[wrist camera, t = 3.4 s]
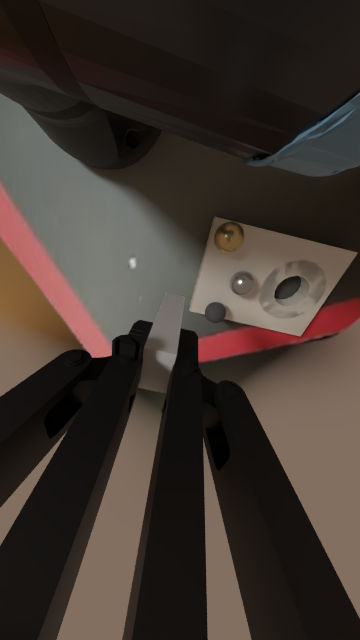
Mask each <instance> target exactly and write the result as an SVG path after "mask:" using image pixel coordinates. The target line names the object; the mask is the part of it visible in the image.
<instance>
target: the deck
mask: <svg viewBox="0 0 360 640" xmlns="http://www.w3.org/2000/svg"><path fill="white" fill-rule="evenodd" d="M226 222H235V221H231V220H227V219H223V218H219V217H215V216H214V218H213V222H212V226H211V229H210V233H209V237H208V240H207V244H206V248H205V251H204V255H203V259H202V262H201V266H200V270H199V273H198V277H197V281H196V284H195V288H194V292H193V295H192V299H191V303H190V311H191V312H196V313H200V314H205V309H206V307H207V306H208V305H209V304H210V303H212V302H219V303H221V304H222V305H223V306H224V307H225V309H226V316H225V318H224V319H226V320H231V321H235V322H239V323H244V324H248V325H252V326H257V327H261V328H265V329H270V330H274V331H278V332H283V333H287V334H292V335H296V336H301V335H302V334H303V332H304V331H305V329H306V328H307V326H308V325H309V323H310V322H311V320H312V319H313V318H314V316H315V315H316V313H317V312H318V310H319V309H320V307H321V306H322V304H323V303H324V302H325V300H326V299H327V297H328V296H329V294H330V293H331V291H332V290H333V288H334V287H335V286H336V284H337V283H338V281H339V280H340V278H341V277H342V275H343V274H344V272H345V271H346V269H347V268H348V267H349V265H350V264H351V262H352V261H353V259H354V258H355V256H356V255H357V252H353V251H349V250H345V249H342V248H338V247H334V246H330V245H326V244H322V243H318V242H314V241H310V240H306V239H302V238H298V237H294V236H290V235H286V234H282V233H278V232H274V231H270V230H266V229H262V228H258V227H254V226H250V225H246V224H243V223H239V222H236V223H238V224H239V225H240V226H241V227H242V228H243V230H244V235H245V238H244V242H243V244H242V246H241V247H240V248H239V249H238V250H237V251H236V252H234V253H230V254H226V253H222V252H220V251H219V250H218V249H217V248H216V246H215V243H214V236H215V232H216V230H217V229H218V228H219V226H221V225H222V224H223V223H226ZM239 271H247V272H250V273H251V274H252V275H253V276H254V278H255V287H254V289H253V291H252V292H251V293H249V294H247V295H245V296H239V295H236V294H234V293H233V292H232V291H231V289H230V285H229V283H230V279H231V277H232V276H233V275H234V274H235V273H236V272H239ZM292 276H300V279H301V284H300V287H299V289H298V291H297V292H296V293H295V294H294V295H293V296H291V297H289V298H287V299H281V300H280V299H275V298H274V293H275V290H276V288H277V286H278V284H280V283H281V282H282V281H283V280H284V279H286V278H288V277H292Z"/></svg>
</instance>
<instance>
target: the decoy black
mask: <svg viewBox="0 0 360 640" xmlns="http://www.w3.org/2000/svg"><path fill="white" fill-rule="evenodd" d="M205 316H206V318H207V319H208V320H209V321H210V322H213V323H218V322H221V321H222V320H223V319H224V318H225V316H226V309H225V307H224V306H223V305H222V304H221V303H219V302H212V303H210V304H209V305H208V306H207V307H206V309H205Z"/></svg>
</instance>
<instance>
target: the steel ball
mask: <svg viewBox="0 0 360 640" xmlns="http://www.w3.org/2000/svg"><path fill="white" fill-rule="evenodd" d="M229 285H230V289H231V291H232V292H233V293H234V294H236V295H239V296H245V295H247V294H249V293H251V292H252V291H253V289H254V287H255V278H254V276H253V275H252V274H251V273H250V272H247V271H239V272H236V273H235V274H234V275H233V276H232V277H231V279H230V283H229Z"/></svg>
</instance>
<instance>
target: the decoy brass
mask: <svg viewBox="0 0 360 640" xmlns="http://www.w3.org/2000/svg"><path fill="white" fill-rule="evenodd" d="M244 238H245V235H244V230H243V228H242V227H241V226H240V225H239V224H238V223H236V222H226V223H223V224H222V225H221V226H219V228H218V229H217V230H216V232H215V236H214V243H215V246H216V248H217V249H218V250H219V251H220V252H222V253H226V254H230V253H234V252H236V251H237V250H238V249H239V248H240V247H241V246H242V244H243V242H244Z"/></svg>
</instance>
